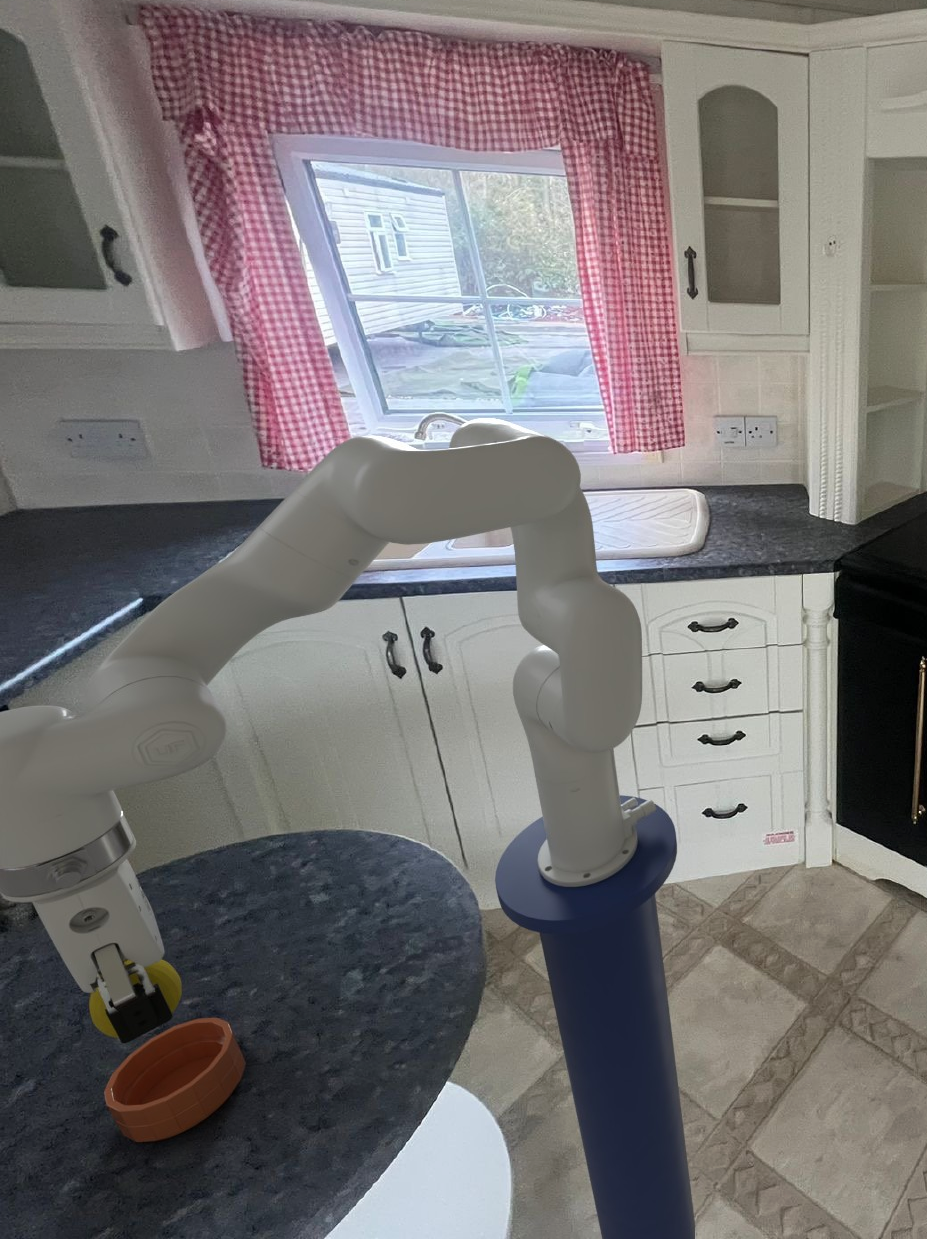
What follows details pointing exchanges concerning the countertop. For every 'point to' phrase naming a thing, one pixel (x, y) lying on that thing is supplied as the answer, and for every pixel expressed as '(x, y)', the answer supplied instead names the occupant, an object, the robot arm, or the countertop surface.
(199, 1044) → the bowl
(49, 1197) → the countertop surface
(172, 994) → the lemon
